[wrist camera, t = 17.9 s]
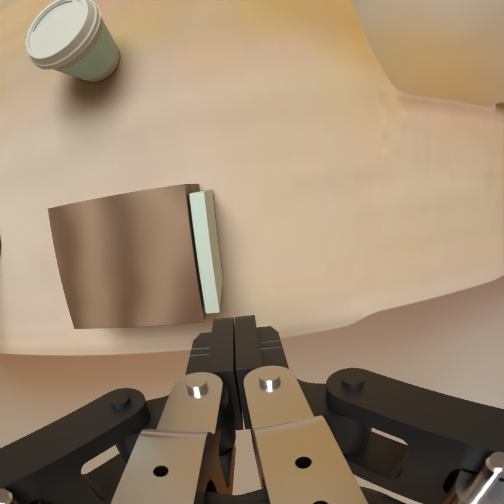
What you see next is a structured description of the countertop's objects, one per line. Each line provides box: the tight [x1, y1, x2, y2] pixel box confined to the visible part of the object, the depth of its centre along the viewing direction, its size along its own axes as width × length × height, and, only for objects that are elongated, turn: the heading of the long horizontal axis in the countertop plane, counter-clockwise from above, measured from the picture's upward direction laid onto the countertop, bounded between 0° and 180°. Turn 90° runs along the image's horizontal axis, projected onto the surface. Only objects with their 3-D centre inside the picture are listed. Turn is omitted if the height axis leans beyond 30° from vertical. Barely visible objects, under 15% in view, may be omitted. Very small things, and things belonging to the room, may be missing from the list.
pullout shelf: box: [189, 190, 223, 314], centre depth 30 cm, size 14×10×9 cm
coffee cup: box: [25, 0, 120, 82], centre depth 24 cm, size 9×9×12 cm
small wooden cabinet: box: [48, 184, 206, 329], centre depth 30 cm, size 14×12×10 cm
